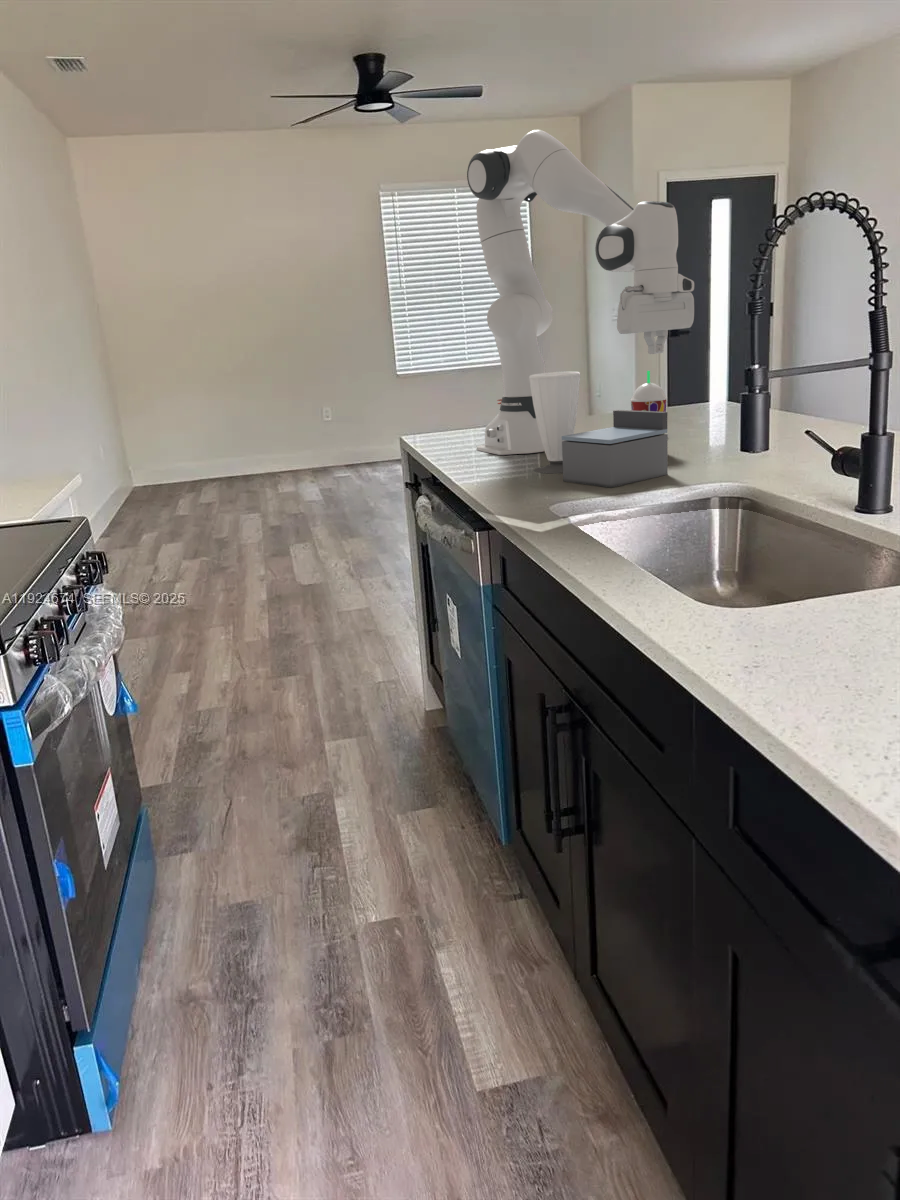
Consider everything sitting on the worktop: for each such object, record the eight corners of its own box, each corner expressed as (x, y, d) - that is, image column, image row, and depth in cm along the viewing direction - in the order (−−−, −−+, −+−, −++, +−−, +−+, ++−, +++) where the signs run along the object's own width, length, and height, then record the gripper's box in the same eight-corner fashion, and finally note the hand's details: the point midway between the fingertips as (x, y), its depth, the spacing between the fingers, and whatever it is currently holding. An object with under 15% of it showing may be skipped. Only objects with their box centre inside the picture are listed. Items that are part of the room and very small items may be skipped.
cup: (533, 467, 206) (528, 374, 200) (581, 464, 205) (578, 370, 199) (533, 475, 196) (528, 377, 189) (585, 472, 194) (582, 373, 188)
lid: (561, 440, 183) (560, 419, 182) (618, 429, 192) (618, 409, 191) (609, 444, 172) (609, 422, 171) (667, 432, 181) (667, 411, 180)
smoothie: (670, 457, 205) (670, 370, 198) (635, 460, 205) (634, 373, 199) (662, 452, 212) (662, 368, 206) (628, 455, 213) (627, 371, 207)
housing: (563, 481, 186) (561, 441, 183) (619, 468, 195) (618, 430, 192) (610, 487, 175) (609, 445, 172) (667, 474, 184) (667, 434, 181)
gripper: (632, 285, 172) (632, 357, 176) (699, 281, 183) (698, 349, 187) (609, 287, 177) (610, 357, 181) (676, 284, 188) (675, 350, 192)
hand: (655, 353), depth 185 cm, fingers closed
